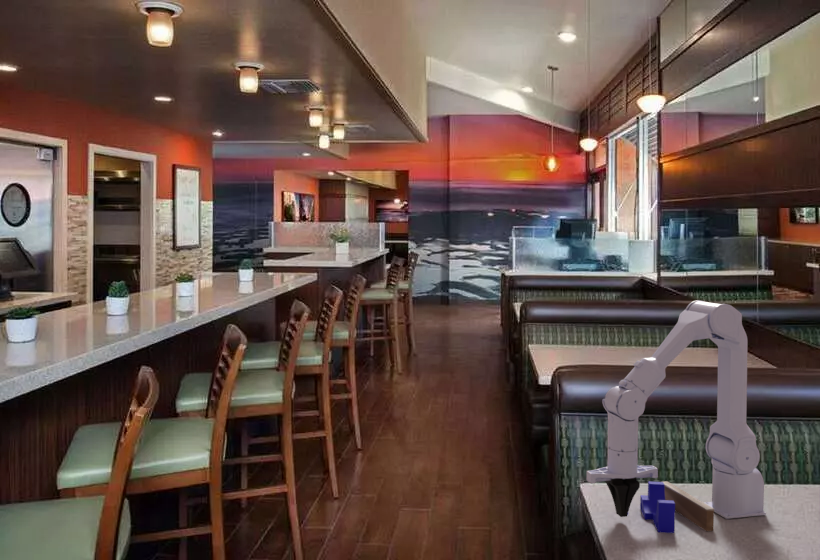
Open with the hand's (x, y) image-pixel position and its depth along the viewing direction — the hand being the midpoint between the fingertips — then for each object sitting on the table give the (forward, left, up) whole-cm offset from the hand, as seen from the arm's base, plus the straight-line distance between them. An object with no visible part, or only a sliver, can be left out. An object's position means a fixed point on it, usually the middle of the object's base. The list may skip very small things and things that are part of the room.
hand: (621, 514), depth 143 cm
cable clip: (-7, +1, -2) cm, 8 cm away
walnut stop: (-14, 0, -1) cm, 14 cm away
